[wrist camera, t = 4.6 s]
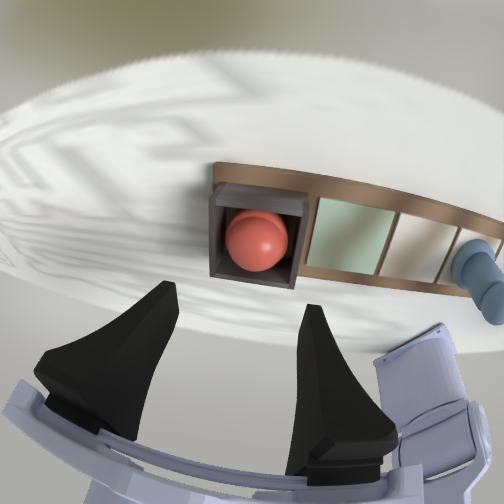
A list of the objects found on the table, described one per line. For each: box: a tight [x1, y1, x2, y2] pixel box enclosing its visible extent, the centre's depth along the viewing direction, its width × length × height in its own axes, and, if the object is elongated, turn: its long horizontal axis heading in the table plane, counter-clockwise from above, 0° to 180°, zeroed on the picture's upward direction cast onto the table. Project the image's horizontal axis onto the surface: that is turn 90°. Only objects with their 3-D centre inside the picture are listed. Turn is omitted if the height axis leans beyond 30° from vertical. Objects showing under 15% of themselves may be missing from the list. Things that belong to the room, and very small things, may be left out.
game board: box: [209, 162, 504, 298], centre depth 18 cm, size 26×8×4 cm, turn 86°
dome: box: [225, 208, 289, 272], centre depth 18 cm, size 4×4×4 cm
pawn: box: [451, 239, 504, 325], centre depth 15 cm, size 5×5×7 cm
